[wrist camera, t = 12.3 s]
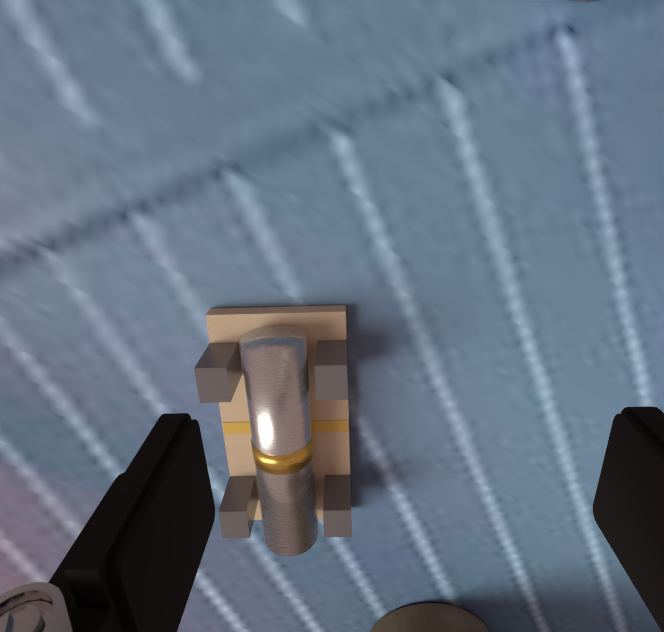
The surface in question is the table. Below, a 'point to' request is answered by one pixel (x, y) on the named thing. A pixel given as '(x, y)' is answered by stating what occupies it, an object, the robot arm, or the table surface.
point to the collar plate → (325, 402)
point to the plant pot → (430, 619)
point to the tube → (281, 435)
